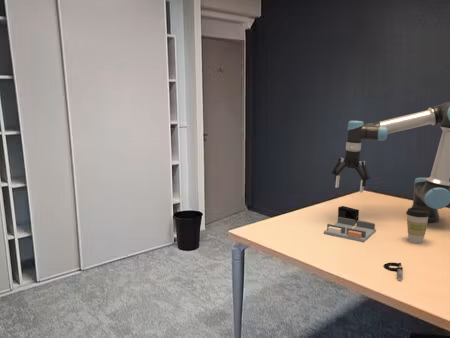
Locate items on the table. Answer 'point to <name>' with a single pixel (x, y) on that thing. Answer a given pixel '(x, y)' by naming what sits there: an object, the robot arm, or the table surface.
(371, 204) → the table surface
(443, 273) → the table surface
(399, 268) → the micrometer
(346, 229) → the docking board
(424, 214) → the coffee cup
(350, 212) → the digital camera
